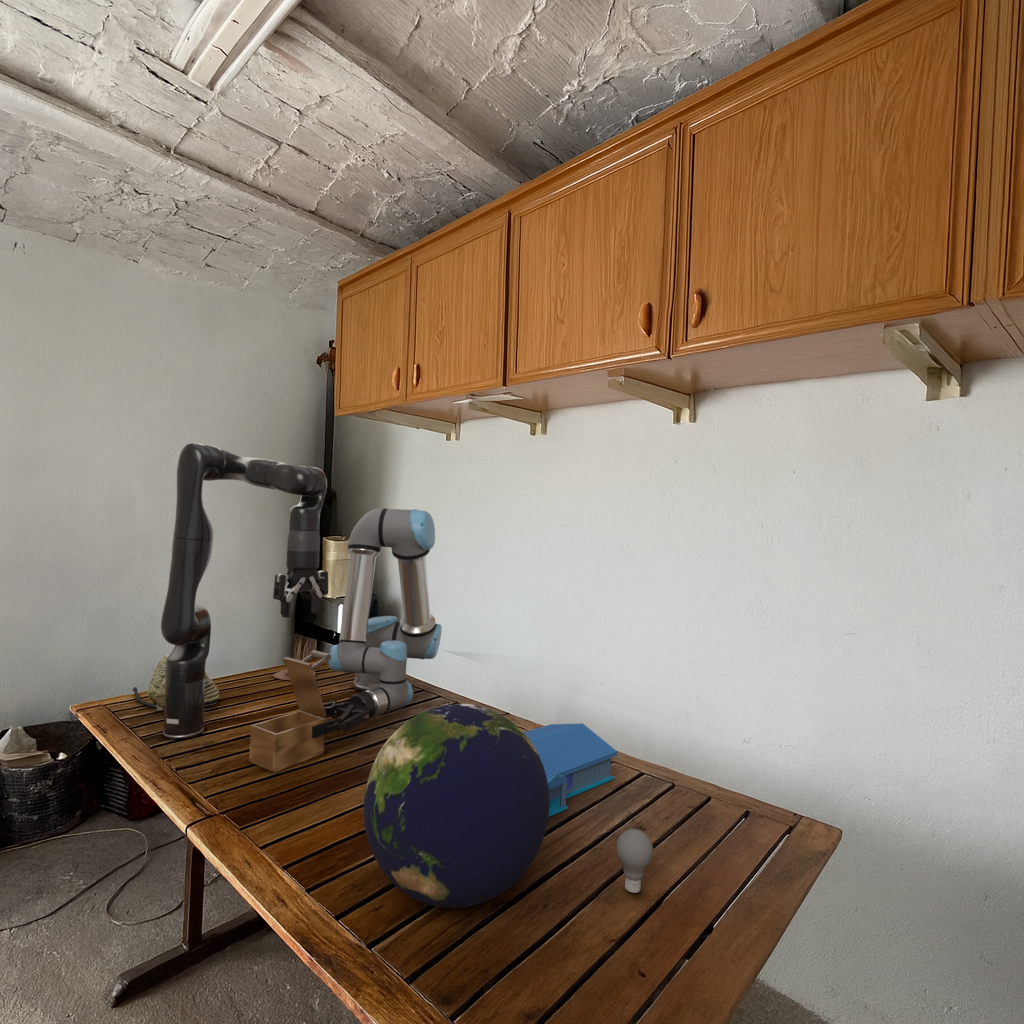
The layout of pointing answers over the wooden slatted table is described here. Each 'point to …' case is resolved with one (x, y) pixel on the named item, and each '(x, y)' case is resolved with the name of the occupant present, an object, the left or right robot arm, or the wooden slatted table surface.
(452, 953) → the wooden slatted table surface
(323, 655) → the lid
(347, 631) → the right robot arm
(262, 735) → the chest
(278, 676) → the anatomical model
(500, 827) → the globe
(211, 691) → the fossil
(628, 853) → the light bulb
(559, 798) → the model building
